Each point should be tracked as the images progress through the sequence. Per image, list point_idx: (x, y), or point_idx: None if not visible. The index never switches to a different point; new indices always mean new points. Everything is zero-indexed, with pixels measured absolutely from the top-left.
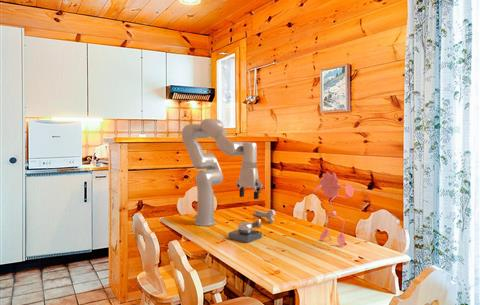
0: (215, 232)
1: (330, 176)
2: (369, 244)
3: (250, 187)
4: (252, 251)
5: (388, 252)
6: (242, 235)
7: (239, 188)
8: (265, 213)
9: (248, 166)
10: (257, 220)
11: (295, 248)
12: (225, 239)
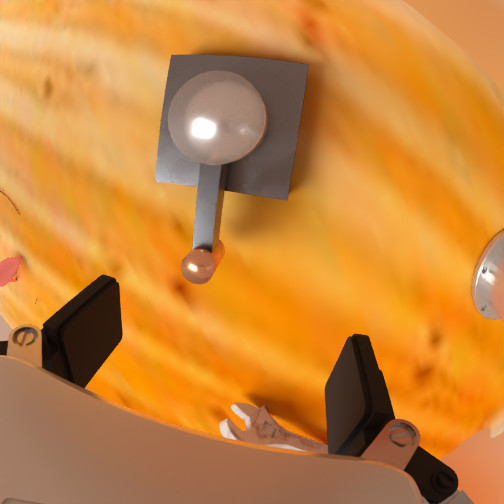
0: (424, 148)
1: None
2: None
3: (38, 368)
4: (124, 3)
5: None
6: (208, 59)
7: (400, 436)
8: (291, 444)
9: None
10: (196, 251)
11: (30, 135)
12: (312, 54)
